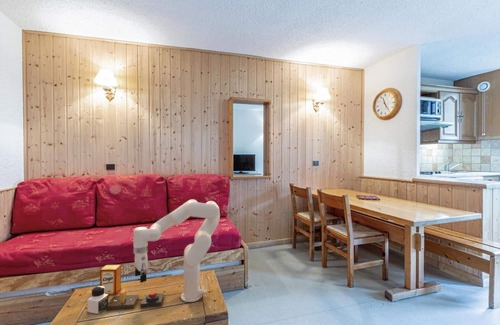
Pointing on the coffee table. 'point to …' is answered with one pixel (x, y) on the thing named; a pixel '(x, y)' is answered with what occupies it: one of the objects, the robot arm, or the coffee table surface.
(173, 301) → the coffee table surface
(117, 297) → the plate
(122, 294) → the orange block red tip
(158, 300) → the box
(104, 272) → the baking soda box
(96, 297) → the medicine bottle
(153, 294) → the door button
